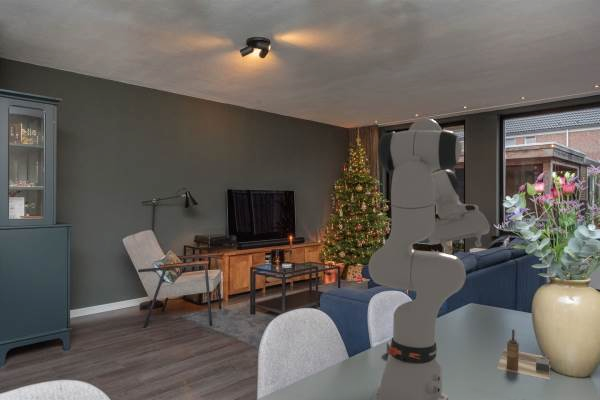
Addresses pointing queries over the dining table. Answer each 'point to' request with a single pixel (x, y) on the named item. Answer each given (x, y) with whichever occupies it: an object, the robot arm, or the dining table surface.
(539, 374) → the subfloor panel
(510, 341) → the awl
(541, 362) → the block
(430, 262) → the robot arm
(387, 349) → the usb wall charger
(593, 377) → the dining table surface
